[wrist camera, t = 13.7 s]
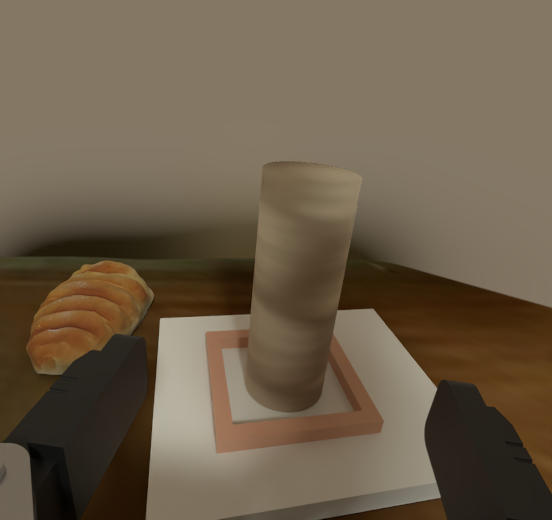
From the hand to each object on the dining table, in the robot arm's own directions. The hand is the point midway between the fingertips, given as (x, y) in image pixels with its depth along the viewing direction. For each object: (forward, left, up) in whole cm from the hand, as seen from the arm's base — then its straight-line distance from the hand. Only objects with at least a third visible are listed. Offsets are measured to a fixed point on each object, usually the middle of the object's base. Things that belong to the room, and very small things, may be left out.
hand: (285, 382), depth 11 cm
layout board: (-4, -8, -9) cm, 13 cm away
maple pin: (-3, -8, -8) cm, 12 cm away
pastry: (+8, -17, -10) cm, 21 cm away
